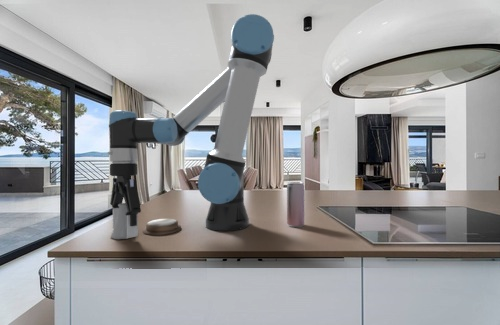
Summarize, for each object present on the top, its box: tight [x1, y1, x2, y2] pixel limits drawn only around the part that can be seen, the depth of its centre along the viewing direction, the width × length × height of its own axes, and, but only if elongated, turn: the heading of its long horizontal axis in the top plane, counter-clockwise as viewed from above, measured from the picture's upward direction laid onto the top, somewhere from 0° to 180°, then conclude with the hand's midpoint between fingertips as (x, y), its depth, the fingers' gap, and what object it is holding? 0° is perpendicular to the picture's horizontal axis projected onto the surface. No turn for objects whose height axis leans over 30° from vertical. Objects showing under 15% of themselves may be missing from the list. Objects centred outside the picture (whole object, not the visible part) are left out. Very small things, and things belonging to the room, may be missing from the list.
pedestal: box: [142, 218, 182, 236], centre depth 84 cm, size 12×12×3 cm
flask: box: [110, 202, 128, 240], centre depth 78 cm, size 7×7×10 cm
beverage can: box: [286, 181, 305, 228], centre depth 89 cm, size 6×6×15 cm
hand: (124, 232), depth 78 cm, fingers open, 13 cm apart
